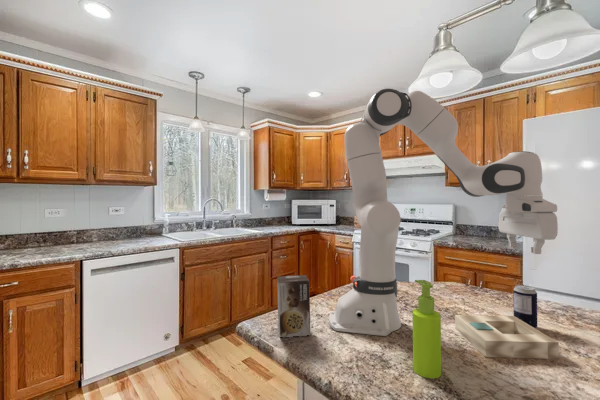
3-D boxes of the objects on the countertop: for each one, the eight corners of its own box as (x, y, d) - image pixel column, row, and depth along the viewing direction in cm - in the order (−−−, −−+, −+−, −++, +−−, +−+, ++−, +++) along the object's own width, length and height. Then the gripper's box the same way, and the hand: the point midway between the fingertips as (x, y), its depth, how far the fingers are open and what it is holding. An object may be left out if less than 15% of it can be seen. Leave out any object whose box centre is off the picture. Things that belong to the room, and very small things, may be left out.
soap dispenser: (431, 360, 70) (430, 277, 70) (446, 378, 63) (445, 286, 63) (407, 361, 69) (406, 278, 69) (420, 378, 62) (419, 286, 62)
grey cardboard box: (306, 326, 89) (306, 274, 89) (310, 336, 83) (310, 280, 83) (277, 328, 88) (276, 275, 88) (279, 338, 81) (278, 281, 81)
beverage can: (541, 331, 84) (541, 290, 84) (519, 330, 85) (519, 289, 85) (530, 323, 90) (530, 285, 90) (510, 322, 91) (509, 284, 91)
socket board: (485, 357, 71) (485, 339, 71) (455, 328, 87) (455, 313, 87) (558, 358, 70) (558, 341, 70) (514, 329, 86) (514, 314, 86)
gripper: (492, 204, 98) (493, 245, 98) (537, 206, 78) (538, 257, 78) (511, 204, 98) (512, 245, 98) (562, 205, 77) (563, 257, 77)
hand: (524, 250), depth 87 cm, fingers open, 8 cm apart
